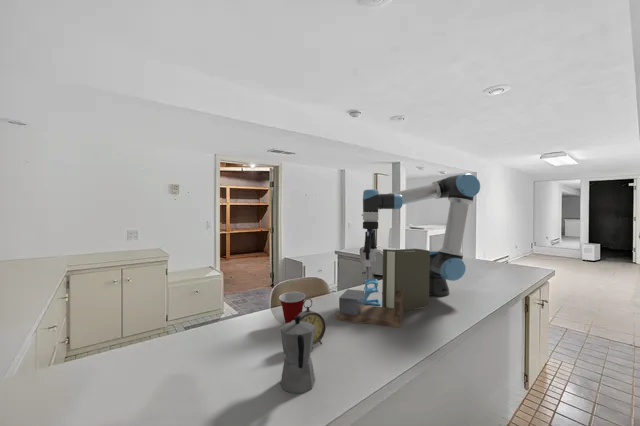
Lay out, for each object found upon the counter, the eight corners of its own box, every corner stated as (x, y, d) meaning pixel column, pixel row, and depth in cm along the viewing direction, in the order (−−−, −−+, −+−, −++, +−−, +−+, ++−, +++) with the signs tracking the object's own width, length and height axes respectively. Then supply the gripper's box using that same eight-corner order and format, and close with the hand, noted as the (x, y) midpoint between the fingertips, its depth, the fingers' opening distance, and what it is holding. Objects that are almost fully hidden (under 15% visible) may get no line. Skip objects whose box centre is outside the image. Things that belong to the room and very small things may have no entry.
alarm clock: (296, 353, 96) (296, 303, 96) (290, 346, 101) (290, 298, 101) (326, 345, 101) (326, 298, 101) (319, 339, 106) (318, 294, 106)
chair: (361, 300, 151) (361, 277, 151) (378, 300, 150) (378, 277, 150) (363, 305, 143) (363, 280, 143) (380, 305, 143) (380, 280, 143)
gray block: (364, 306, 136) (364, 290, 136) (357, 316, 123) (357, 299, 123) (347, 304, 139) (347, 289, 139) (339, 314, 126) (339, 297, 126)
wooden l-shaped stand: (403, 313, 132) (402, 291, 131) (400, 327, 116) (399, 301, 116) (346, 307, 140) (345, 286, 140) (336, 319, 125) (336, 295, 125)
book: (415, 302, 150) (415, 247, 150) (430, 307, 142) (430, 249, 142) (382, 308, 140) (382, 249, 140) (396, 314, 132) (396, 251, 132)
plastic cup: (273, 328, 116) (273, 297, 116) (286, 318, 126) (286, 290, 126) (298, 332, 112) (298, 300, 112) (310, 322, 122) (310, 293, 122)
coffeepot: (279, 372, 85) (278, 309, 85) (311, 368, 87) (311, 307, 86) (282, 407, 70) (281, 330, 70) (321, 402, 71) (320, 327, 71)
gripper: (367, 220, 159) (367, 259, 160) (357, 221, 136) (357, 268, 136) (381, 220, 157) (381, 260, 157) (373, 222, 133) (373, 269, 134)
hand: (370, 264), depth 147 cm, fingers open, 13 cm apart
